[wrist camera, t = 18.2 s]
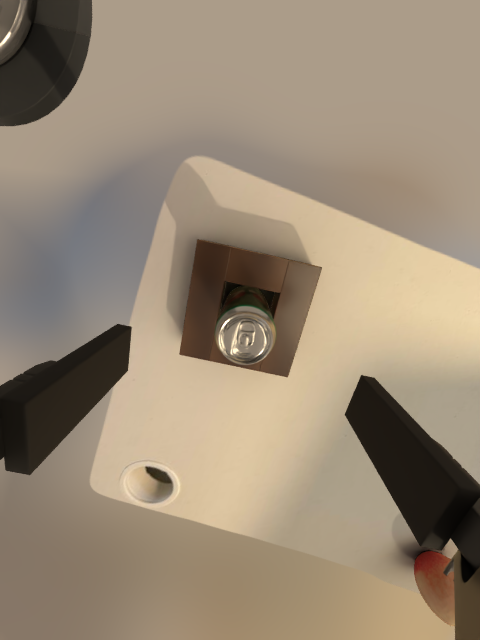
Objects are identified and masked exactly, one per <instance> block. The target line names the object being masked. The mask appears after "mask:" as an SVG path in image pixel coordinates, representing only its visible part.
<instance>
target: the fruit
mask: <svg viewBox="0 0 480 640" xmlns="http://www.w3.org/2000/svg"><path fill="white" fill-rule="evenodd" d="M450 560H451V559H449V558H447V557H445V556H444V555H442V554H440V553H437V552H433V551H427V552H423V553H421V554H420V555H418V557H417V558H416V560H415V564H414V575H415V580H416V583H417V586H418V589H419V591H420V593H421V595H422V597H423V599H424V600H425V602H426V603H427V605H428V606H429V607H430V609H431V610H432V611H433V612H434V613H435V614H436V615H437V616H438V617H439V618H440V619H441V620H443V621H444V622H445V623H447V624H449V625H451V626H455V599H454V581H453V580H454V572H450V573H449V574H448V575H447V576H446V575H445V574H444V573H443V571H444V569H445V567H446V566H447V564H448V563H449V562H450Z"/></svg>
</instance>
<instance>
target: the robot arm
mask: <svg viewBox="0 0 480 640" xmlns="http://www.w3.org/2000/svg"><path fill="white" fill-rule="evenodd" d="M36 9H37V0H0V67H1V66H3V65H5V64H7V63H8V62H9V61H11V60H12V59H13V58H14V57H15V56H16V55H17V54H18V53H19V52H20V51H21V49H22V48H23V46H24V45H25V43H26V41H27V39H28V37H29V35H30V32H31V30H32V27H33V23H34V20H35V15H36ZM131 328H132V327H130V326H125V325H120V324H117V325H115V326H114V327H112V328H110V329H109V330H107V331H105V332H104V333H102V334H101V335H99V336H97V337H96V338H94V339H93V340H91V341H89V342H88V343H86V344H85V345H83V346H81V347H80V348H78V349H77V350H75V351H73V352H72V353H70V354H68V355H67V356H65V357H64V358H62V359H60V360H59V361H57V362H56V361H48V362H45V363H41V364H38V365H36V366H34V367H32V368H31V369H29V370H27V371H25V372H24V373H23V374H20V375H18V376H16V377H15V378H14V379H13V380H9V381H8V382H6V383H4V384H2V385H1V386H0V460H1V459H2V458H3V457H4V459H5V469H6V471H11V472H16V473H22V474H27V475H30V474H31V473H32V472H33V471H34V470H35V469H36V468H37V467H38V466H39V465H40V464H41V463H42V462H43V461H44V459H46V457H47V456H48V455H49V454H50V453H51V452H52V451H53V450H54V449H55V448H56V447H57V446H58V445H59V443H60V442H61V441H62V440H63V439H64V438H65V437H66V436H67V435H68V434H69V433H70V432H71V431H72V430H73V429H74V427H75V426H76V425H77V424H78V423H79V422H80V421H81V420H82V419H83V418H84V417H85V416H86V415H87V414H88V413H89V412H90V410H91V409H92V408H93V407H94V406H95V405H96V404H97V403H98V402H99V401H100V400H101V399H102V398H103V397H104V396H105V395H106V393H107V392H108V391H109V390H110V389H111V388H112V387H113V386H114V385H115V384H116V383H117V382H118V381H119V380H120V379H121V377H122V376H123V375H124V374H125V373H126V372H127V371H128V364H129V352H130V340H131ZM345 416H346V418H347V419H348V421H349V423H350V425H351V426H352V428H353V430H354V432H355V433H356V435H357V437H358V439H359V440H360V442H361V444H362V446H363V447H364V449H365V451H366V453H367V454H368V456H369V458H370V459H371V461H372V463H373V465H374V466H375V468H376V470H377V472H378V473H379V475H380V477H381V479H382V480H383V482H384V484H385V486H386V487H387V489H388V491H389V493H390V494H391V496H392V498H393V500H394V501H395V503H396V505H397V506H398V508H399V510H400V512H401V513H402V515H403V517H404V519H405V520H406V522H407V524H408V526H409V527H410V529H411V531H412V533H413V534H414V536H415V538H416V540H417V541H418V543H419V545H420V546H421V547H426V548H432V549H437V550H442V549H443V548H444V546H445V545H446V544H447V542H448V541H449V539H450V538H451V539H452V540H453V542H454V543H455V545H456V546H457V548H458V549H459V550H458V551H457V552H456V554H455V555H454V556H453V558H452V559H451V560H450V562H449V563H448V564H447V566H446V567H445V569H444V571H443V573H444V574H445V575H446V576H447V575H448V574H449V573H450V572H454V580H453V581H454V599H455V640H480V485H479V484H478V482H477V481H476V480H475V479H474V478H473V477H472V476H471V475H470V474H469V473H468V472H467V471H466V470H465V469H464V468H462V467H461V465H460V464H459V463H458V462H457V461H456V460H455V459H453V457H452V456H451V455H450V454H449V453H448V451H447V450H446V449H445V448H444V447H443V446H442V445H440V444H439V443H438V442H436V441H435V440H434V439H432V438H431V437H430V436H429V435H428V434H427V433H426V432H425V431H424V430H423V429H422V428H421V427H420V425H419V424H418V423H417V422H416V421H415V420H414V419H413V418H412V417H411V416H410V415H409V414H408V413H407V412H406V411H405V410H404V409H403V408H402V407H401V405H400V404H399V403H398V402H397V401H396V400H395V399H394V398H393V397H392V396H391V395H390V394H389V393H388V392H387V391H386V390H385V389H384V388H383V387H382V386H381V384H380V383H379V382H378V381H377V380H376V379H375V378H372V377H368V376H363V375H361V377H360V379H359V382H358V384H357V387H356V389H355V391H354V394H353V396H352V398H351V401H350V403H349V406H348V408H347V410H346V413H345Z"/></svg>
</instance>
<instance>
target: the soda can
mask: <svg viewBox="0 0 480 640" xmlns="http://www.w3.org/2000/svg"><path fill="white" fill-rule="evenodd" d="M276 335H277V334H276V327H275V323H274V321H273V318H272V315H271V312H270V309H269V306H268V304H267V301H266V298H265V296H264V294H263V293H262V292H261V291H260V290H259V289H258V288H254V287H250V286H245V285H242V286H239V287H236V288H235V289H233V290H232V291H231V292H230V293H229V295H228V297H227V299H226V301H225V304H224V306H223V309H222V311H221V314H220V316H219V319H218V321H217V324H216V326H215V341H216V344H217V346H218V348H219V350H220V351H221V352H222V353H223V355H224V356H225V357H226V358H227V359H229V360H230V361H232V362H234V363H237V364H241V365H250V364H254V363H257V362H259V361H261V360H262V359H264V358H265V357H266V356H267V355H268V354H269V352H270V351H271V350H272V348H273V347H274V344H275V341H276Z"/></svg>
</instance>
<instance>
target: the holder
mask: <svg viewBox="0 0 480 640" xmlns="http://www.w3.org/2000/svg"><path fill="white" fill-rule="evenodd" d="M321 270H322V267H318V266H315V265H311V264H307V263H302V262H298V261H293V260H289V259H285V258H280V257H276V256H271V255H267V254H263V253H258V252H254V251H249V250H245V249H241V248H236V247H232V246H227V245H223V244H219V243H214V242H210V241H205V240H199V239H198V240H197V245H196V251H195V258H194V264H193V270H192V277H191V283H190V290H189V296H188V302H187V309H186V315H185V322H184V328H183V334H182V341H181V347H180V355H184V356H189V357H194V358H198V359H203V360H208V361H213V362H218V363H222V364H227V365H232V366H237V367H241V368H246V369H251V370H256V371H260V372H265V373H270V374H275V375H279V376H284V377H288V375H289V372H290V369H291V366H292V362H293V359H294V356H295V353H296V350H297V346H298V343H299V340H300V337H301V334H302V330H303V327H304V324H305V321H306V318H307V314H308V311H309V308H310V305H311V302H312V298H313V295H314V292H315V289H316V286H317V282H318V279H319V276H320V273H321ZM226 282H232V283H236V284H241V285H245V286H250V287H254V288H259V289H263V290H268V291H272V292H275V293H274V297H273V301H272V304H271V308H270V312H271V315H272V318H273V321H274V323H275V327H276V334H277V335H276V341H275V344H274V347H273V348H272V350H271V351H270V352H269V354H268V355H267V356H266V357H265V358H264V359H262V360H261V361H259V362H257V363H254V364H250V365H241V364H237V363H234V362H232V361H230V360H229V359H227V358H226V357H225V356H224V355H223V353H222V352H221V351H220V350H219V348H218V346H217V344H216V341H215V326H216V324H217V321H218V319H219V316H220V312H221V307H222V302H223V297H224V292H225V287H226Z"/></svg>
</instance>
